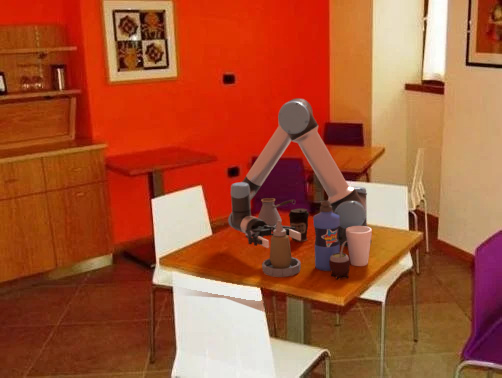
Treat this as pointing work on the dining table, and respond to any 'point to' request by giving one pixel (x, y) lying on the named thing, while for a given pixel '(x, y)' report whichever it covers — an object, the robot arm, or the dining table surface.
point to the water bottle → (326, 236)
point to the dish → (284, 272)
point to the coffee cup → (299, 222)
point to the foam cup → (359, 244)
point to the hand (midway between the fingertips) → (284, 240)
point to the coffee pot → (270, 211)
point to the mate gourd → (339, 264)
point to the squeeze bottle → (280, 248)
